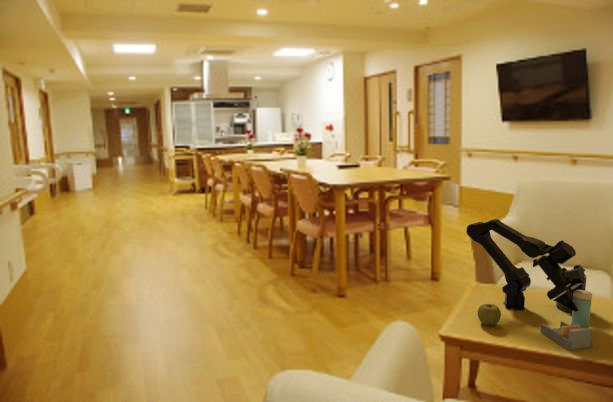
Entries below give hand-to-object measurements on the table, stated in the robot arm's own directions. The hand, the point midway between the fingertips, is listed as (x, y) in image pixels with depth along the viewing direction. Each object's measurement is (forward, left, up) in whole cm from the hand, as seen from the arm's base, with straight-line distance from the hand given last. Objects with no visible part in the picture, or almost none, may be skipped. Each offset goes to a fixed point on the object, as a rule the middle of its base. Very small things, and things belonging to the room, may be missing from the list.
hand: (583, 307), depth 172 cm
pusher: (-7, -12, -7) cm, 16 cm away
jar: (0, 0, -8) cm, 8 cm away
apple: (-31, -2, -8) cm, 32 cm away
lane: (-8, -10, -8) cm, 15 cm away
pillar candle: (+2, +18, -8) cm, 20 cm away
